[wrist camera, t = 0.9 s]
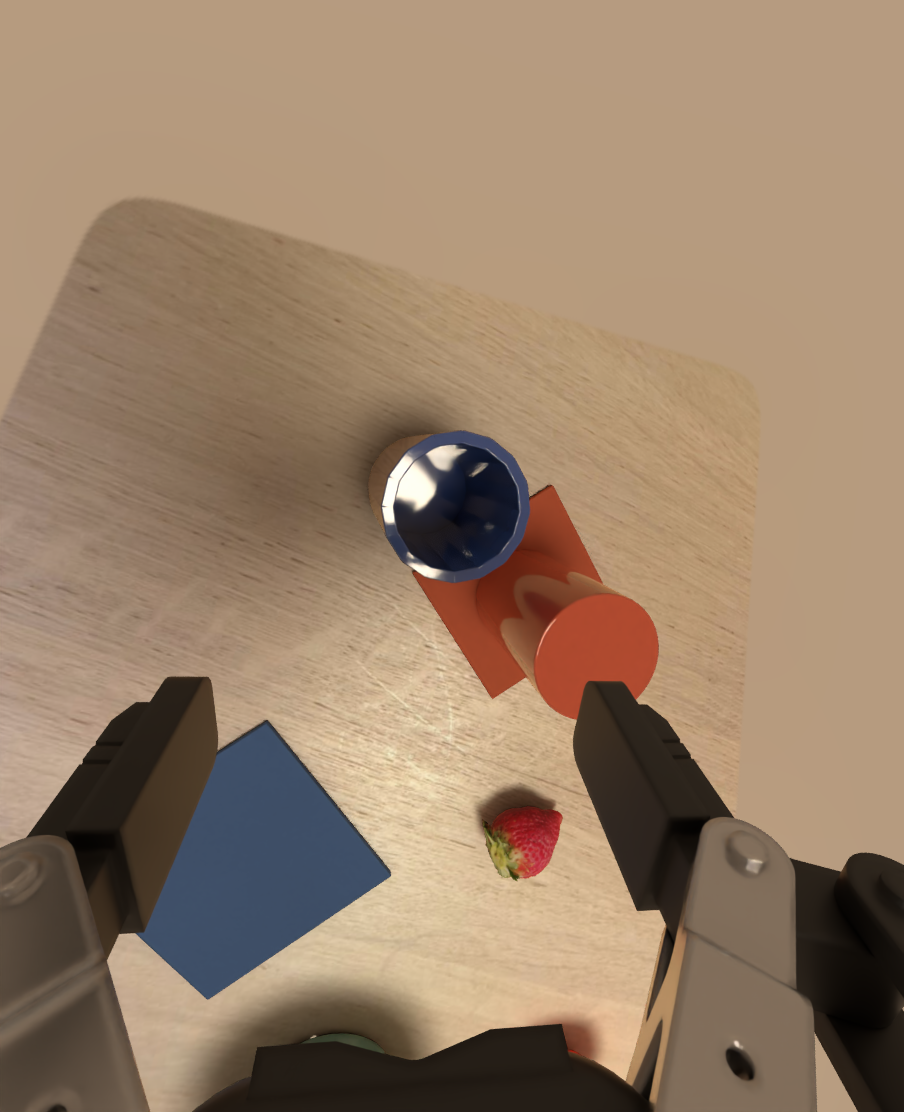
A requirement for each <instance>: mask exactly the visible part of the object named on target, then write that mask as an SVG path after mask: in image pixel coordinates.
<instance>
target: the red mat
mask: <svg viewBox="0 0 904 1112" xmlns="http://www.w3.org/2000/svg"><path fill="white" fill-rule="evenodd" d="M529 502H530V515H529V519H528V522H527V526H526V529H525V533H524V537H523V539H522V541H521V542H520V544H519V545H518V546H517V548H516V549H515V550H521V549H531V550H536V551H540V552H542V553H544V554H547V555H548V556H550V557H552V558H554V559H556V560H558V561H560V562H562V563H564V564H565V565H567V566H569V567H571V568H573V569H575V570H577V571H579V572H581V573H582V574H584V575H586V576H588V577H590V578H592V579H594V580H596V581H598V582H599V583H601V584H603V583H602V581H601V579H600V577H599V575H598V573H597V571H596V569H595V567H594V565H593V563H592V561H591V559H590V557H589V555H588V553H587V551H586V549H585V547H584V545H583V543H582V541H581V539H580V537H579V536H578V534H577V532H576V530H575V528H574V526H573V524H572V522H571V520H570V518H569V516H568V514H567V512H566V510H565V508H564V506H563V504H562V502H561V500H560V498H559V496H558V494H557V492H556V490H555V488H554V486H552V485H550V486H548V487H547V488H545V489H544V490H542V491H540V492H539V493H537V494H536V495H534V496H533V497H531V498H529ZM412 573H413V575H414V576H415V578H416V580H417V581H418V583H419V584H420V586H421V588H422V589H423V591H424V592H425V594H426V595H427V597H428V599H429V600H430V602H431V603H432V605H433V606H434V608H435V610H436V611H437V613H438V614H439V616H440V617H441V619H442V621H443V622H444V624H445V625H446V627H447V628H448V630H449V632H450V633H451V635H452V636H453V638H454V639H455V641H456V643H457V644H458V646H459V647H460V649H461V650H462V652H463V654H464V655H465V657H466V658H467V660H468V662H469V663H470V665H471V666H472V668H473V669H474V671H475V673H476V674H477V676H478V677H479V679H480V680H481V682H482V684H483V685H484V687H485V688H486V690H487V691H488V693H489V695H490V696H491V698H492V699H493V698H495V697H496V696H498V695H499V694H501V693H502V692H504V691H505V690H507V689H509V688H510V687H512V686H513V685H515V684H516V683H518V682H519V681H521V680H522V679H524V678H525V676H524V674H523V673H522V672H521V671H520V670H519V668H518V667H517V666H516V665H515V663H514V662H513V661H512V660H511V658H510V657H509V656H508V655H507V653H506V652H505V651H504V650H503V648H502V647H501V646H500V645H499V643H498V642H497V641H496V640H495V638H494V637H493V636H492V635H491V634H490V632H489V631H488V630H487V629H486V627H485V626H484V624H483V623H482V621H481V619H480V618H479V615H478V612H477V607H476V592H477V587H478V584H479V581H480V579H481V578H479V579H474V580H469V581H464V582H458V583H449V582H444V581H439V580H434V579H429V578H426V577H424V576H422V575H421V574H419V573H418V572H416V571H413V572H412Z"/></svg>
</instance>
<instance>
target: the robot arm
mask: <svg viewBox="0 0 904 1112" xmlns="http://www.w3.org/2000/svg"><path fill="white" fill-rule="evenodd" d="M217 748H218V731H217V723H216V715H215V706H214V698H213V690H212V683H211V680H210V679H209V677H167V678H166V679H165V680H164V682H163V683H162V685H161V686H160V688H159V689H158V691H157V692H156V694H155V695H154V697H153V698H152V700H151V701H150V702H136V703H134V704H133V705H132V706H130V707H129V708H128V709H126V710H125V711H124V712H122V713H121V714H120V715H118V716H117V717H115V718H114V719H113V720H111V722H110V723H109V725H108V726H107V727H106V729H105V730H104V731H103V733H102V734H101V736H100V737H99V738H98V740H97V741H96V745H95V746H93V747H92V748H91V749H90V751H89V752H88V753H87V755H86V756H85V758H84V759H83V763H82V765H79V766H78V767H77V769H76V770H75V771H74V773H73V774H72V775H71V777H70V778H69V780H68V781H67V782H66V784H65V785H64V786H63V788H62V789H61V791H60V792H59V793H58V795H57V796H56V798H55V799H54V800H53V802H52V803H51V804H50V806H49V807H48V809H47V810H46V811H45V813H44V814H43V815H42V817H41V818H40V820H39V821H38V822H37V824H36V825H35V826H34V828H33V829H32V831H31V832H30V833H29V835H28V836H27V837H26V838H24V839H21V840H18V841H15V842H13V843H10V844H8V845H6V846H4V847H2V848H0V1112H150V1109H149V1106H148V1102H147V1099H146V1095H145V1092H144V1088H143V1085H142V1082H141V1078H140V1075H139V1071H138V1068H137V1064H136V1061H135V1057H134V1054H133V1050H132V1047H131V1043H130V1040H129V1036H128V1033H127V1030H126V1026H125V1023H124V1019H123V1016H122V1012H121V1009H120V1005H119V1002H118V998H117V995H116V991H115V988H114V984H113V981H112V978H111V974H110V971H109V967H108V964H107V959H108V957H109V955H110V953H111V950H112V948H113V946H114V944H115V942H116V939H117V937H118V935H119V934H127V933H144V932H145V929H146V927H147V925H148V922H149V920H150V918H151V915H152V913H153V910H154V908H155V906H156V903H157V901H158V898H159V896H160V894H161V891H162V889H163V886H164V884H165V882H166V879H167V877H168V874H169V872H170V870H171V867H172V865H173V862H174V860H175V858H176V855H177V853H178V850H179V848H180V846H181V843H182V841H183V838H184V836H185V834H186V831H187V829H188V827H189V824H190V822H191V819H192V817H193V815H194V812H195V810H196V807H197V805H198V803H199V800H200V798H201V795H202V793H203V791H204V788H205V786H206V783H207V781H208V779H209V776H210V774H211V771H212V769H213V766H214V763H215V759H216V755H217ZM573 750H574V756H575V761H576V764H577V767H578V769H579V771H580V774H581V776H582V779H583V781H584V783H585V786H586V788H587V791H588V793H589V796H590V798H591V800H592V803H593V805H594V808H595V810H596V813H597V815H598V817H599V820H600V822H601V825H602V827H603V829H604V832H605V834H606V837H607V839H608V842H609V844H610V846H611V849H612V851H613V854H614V856H615V859H616V861H617V863H618V866H619V868H620V871H621V873H622V875H623V878H624V880H625V883H626V885H627V888H628V890H629V892H630V895H631V897H632V900H633V902H634V905H635V907H636V909H637V911H646V910H660V912H661V914H662V916H663V919H664V921H665V923H666V925H665V928H664V930H663V933H662V936H661V941H660V945H659V950H658V954H657V958H656V963H655V967H654V972H653V976H652V980H651V985H650V989H649V994H648V998H647V1002H646V1007H645V1011H644V1016H643V1020H642V1024H641V1029H640V1033H639V1037H638V1040H637V1044H636V1048H635V1051H634V1054H633V1057H632V1061H631V1064H630V1067H629V1071H628V1074H627V1078H626V1081H624V1080H623V1079H622V1078H620V1077H619V1076H618V1075H616V1074H615V1073H614V1072H612V1071H610V1070H609V1069H607V1068H605V1067H604V1066H602V1065H600V1064H599V1063H597V1062H595V1061H593V1060H591V1059H588V1058H586V1057H584V1056H581V1055H579V1054H576V1053H573V1052H569V1051H568V1049H567V1045H566V1041H565V1036H564V1032H563V1028H562V1024H555V1025H542V1026H528V1027H515V1028H502V1029H490V1030H488V1031H486V1032H483V1033H481V1034H479V1035H476V1036H474V1037H472V1038H469V1039H467V1040H465V1041H463V1042H460V1043H458V1044H456V1045H453V1046H451V1047H449V1048H446V1049H444V1050H442V1051H439V1052H437V1053H435V1054H432V1055H430V1056H428V1057H425V1058H423V1059H419V1060H407V1059H403V1058H399V1057H395V1056H391V1055H388V1054H384V1053H380V1052H376V1051H372V1050H368V1049H365V1048H361V1047H357V1046H353V1045H349V1044H345V1043H342V1042H338V1041H330V1042H317V1043H304V1044H291V1045H277V1046H264V1047H257V1050H256V1055H255V1061H254V1066H253V1071H252V1076H250V1077H248V1078H245V1079H243V1080H241V1081H238V1082H236V1083H234V1084H233V1085H231V1086H229V1087H227V1088H226V1089H224V1090H222V1091H220V1092H219V1093H217V1094H215V1095H214V1096H213V1097H211V1098H210V1099H208V1100H207V1101H206V1102H204V1103H203V1104H201V1105H200V1106H199V1107H197V1108H196V1109H195V1110H194V1111H192V1112H817V1098H816V1097H817V1095H816V1067H815V1037H814V1032H815V1034H816V1036H817V1038H818V1039H819V1041H820V1043H821V1045H822V1047H823V1048H824V1050H825V1052H826V1054H827V1056H828V1058H829V1059H830V1061H831V1063H832V1065H833V1067H834V1069H835V1070H836V1072H837V1074H838V1076H839V1078H840V1080H841V1081H842V1083H843V1085H844V1087H845V1089H846V1091H847V1092H848V1094H849V1096H850V1098H851V1100H852V1101H853V1103H854V1105H855V1107H856V1109H857V1111H858V1112H904V1011H903V1010H902V1008H903V1007H904V865H902V864H900V863H898V862H896V861H894V860H892V859H890V858H887V857H884V856H881V855H877V854H873V853H858V854H854V855H852V856H851V857H850V858H849V859H848V861H847V863H846V864H845V866H844V868H843V870H842V871H841V872H840V871H836V870H832V869H829V868H824V867H821V866H817V865H813V864H809V863H806V862H801V861H798V860H794V859H791V858H789V857H788V855H787V854H786V853H785V851H784V850H783V849H782V847H781V846H780V845H779V844H778V843H777V842H776V841H775V840H774V839H773V838H771V837H770V836H769V835H768V834H766V833H765V832H763V831H762V830H760V829H759V828H757V827H755V826H753V825H751V824H749V823H747V822H744V821H742V820H738V819H735V818H734V817H733V816H732V814H731V813H730V811H729V810H728V808H727V807H726V805H725V804H724V803H723V801H722V800H721V798H720V797H719V795H718V794H717V792H716V791H715V790H714V788H713V787H712V785H711V784H710V782H709V781H708V779H707V778H706V776H705V775H704V774H703V772H702V771H701V769H700V768H699V766H698V765H697V763H696V762H695V761H694V759H691V755H690V753H689V752H688V750H687V749H686V747H685V746H684V745H683V743H680V739H679V737H678V736H677V734H676V733H675V732H674V730H673V729H672V727H671V726H670V724H669V723H668V721H667V720H666V719H664V718H663V717H662V716H661V715H659V714H658V713H657V712H656V711H654V710H653V709H652V708H651V707H649V706H648V705H639V704H638V703H637V701H636V700H635V698H634V696H633V695H632V693H631V692H630V690H629V689H628V687H627V686H626V684H625V683H624V682H622V681H588V682H587V683H586V685H585V687H584V691H583V695H582V699H581V704H580V708H579V713H578V717H577V722H576V726H575V731H574V736H573Z"/></svg>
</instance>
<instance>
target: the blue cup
mask: <svg viewBox="0 0 904 1112" xmlns="http://www.w3.org/2000/svg"><path fill="white" fill-rule="evenodd" d="M368 495H369V500H370V504H371V508H372V511H373V513H374V515H375V517H376V518H377V520H378V522H379V524H380V526H381V528H382V530H383V532H384V534H385V536H386V538H387V539H388V541H389V542H390V544H391V546H392V547H393V549H394V550H395V552H396V553H397V555H398V557H399V558H400V560H401V561H402V562H403V563H405V564H406V565H407V566H409V567H410V568H412V569H413V570H415V571H416V572H418V573H419V574H421V575H422V576H424V577H426V578H429V579H434V580H439V581H444V582H449V583H458V582H464V581H469V580H474V579H479V578H481V577H484V576H485V575H487V574H489V573H490V572H492V571H493V570H495V569H496V568H498V567H500V566H501V565H503V564H504V563H505V562H506V561H507V560H508V559H509V557H510V556H511V555H512V553H513V552H514V551H515V549H516V548H517V546H518V545H519V544H520V542H521V541H522V539H523V537H524V533H525V529H526V526H527V522H528V519H529V515H530V502H529V492H528V484H527V480H526V479H525V477H524V475H523V473H522V471H521V469H520V467H519V465H518V463H517V461H516V460H515V458H514V457H513V455H511V454H510V453H509V452H508V451H506V450H505V449H504V448H503V447H502V446H500V445H499V444H498V443H497V442H495V441H494V440H493V439H491V438H489V437H486V436H482V435H479V434H475V433H472V432H468V431H464V430H463V431H462V430H459V431H450V432H441V433H432V434H423V435H416V436H409V437H404V438H402V439H400V440H398V441H396V442H394V443H392V444H391V445H389V446H388V447H387V448H386V449H385V450H384V451H382V453H381V454H380V455H379V456H378V458H377V459H376V461H375V462H374V464H373V467H372V469H371V472H370V475H369V481H368Z"/></svg>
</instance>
